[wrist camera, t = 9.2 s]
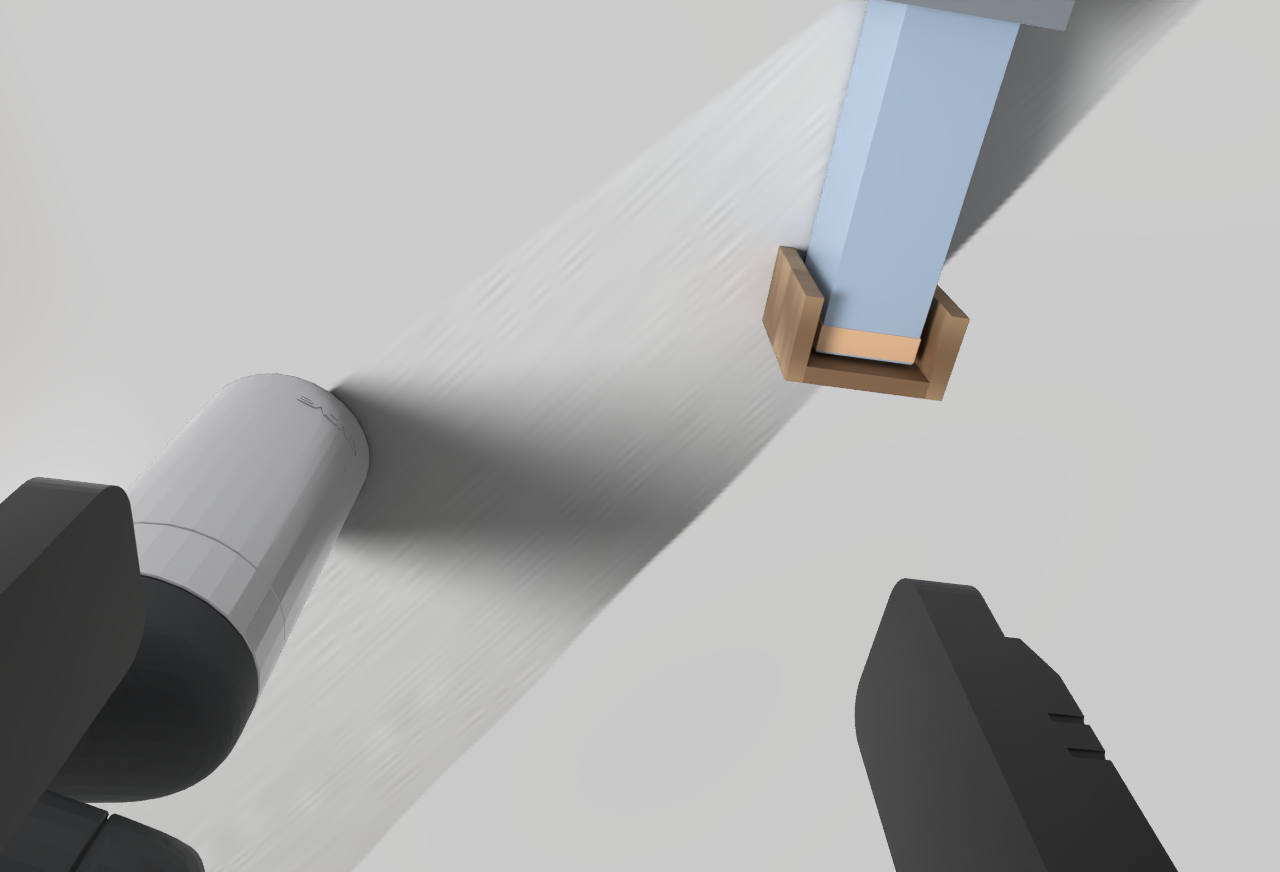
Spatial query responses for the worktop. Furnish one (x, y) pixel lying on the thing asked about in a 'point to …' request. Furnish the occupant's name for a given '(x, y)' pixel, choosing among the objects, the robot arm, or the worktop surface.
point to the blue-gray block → (1007, 10)
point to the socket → (792, 341)
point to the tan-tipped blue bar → (901, 173)
